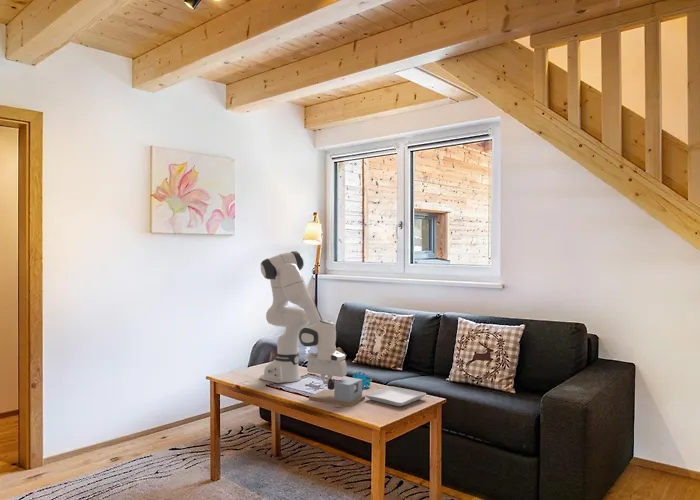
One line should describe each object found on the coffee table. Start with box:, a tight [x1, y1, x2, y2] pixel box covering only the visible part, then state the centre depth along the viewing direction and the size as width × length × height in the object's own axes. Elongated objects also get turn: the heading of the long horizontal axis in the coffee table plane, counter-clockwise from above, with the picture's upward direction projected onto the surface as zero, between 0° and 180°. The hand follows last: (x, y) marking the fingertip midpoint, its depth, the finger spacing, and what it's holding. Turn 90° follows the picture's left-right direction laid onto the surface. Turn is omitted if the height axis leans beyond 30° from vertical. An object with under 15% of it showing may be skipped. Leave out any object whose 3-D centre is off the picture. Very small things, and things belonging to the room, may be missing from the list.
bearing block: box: [308, 376, 366, 407], centre depth 246 cm, size 22×14×9 cm, turn 61°
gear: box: [351, 371, 373, 390], centre depth 269 cm, size 11×6×10 cm
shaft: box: [326, 378, 357, 391], centre depth 245 cm, size 14×5×5 cm, turn 61°
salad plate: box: [364, 385, 427, 407], centre depth 246 cm, size 21×21×3 cm
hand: (326, 383), depth 249 cm, fingers closed
